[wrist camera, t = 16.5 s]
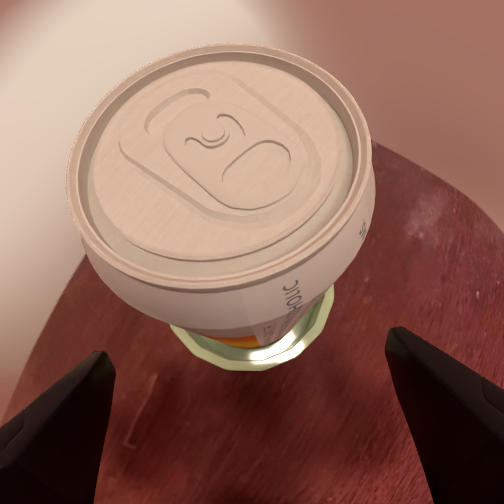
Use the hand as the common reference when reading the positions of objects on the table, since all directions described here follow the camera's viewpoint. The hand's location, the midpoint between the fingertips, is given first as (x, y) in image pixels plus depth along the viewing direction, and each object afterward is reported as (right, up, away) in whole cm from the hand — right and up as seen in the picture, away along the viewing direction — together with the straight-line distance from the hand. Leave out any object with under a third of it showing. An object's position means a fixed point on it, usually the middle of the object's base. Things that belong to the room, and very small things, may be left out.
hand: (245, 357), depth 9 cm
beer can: (0, 0, +10) cm, 10 cm away
